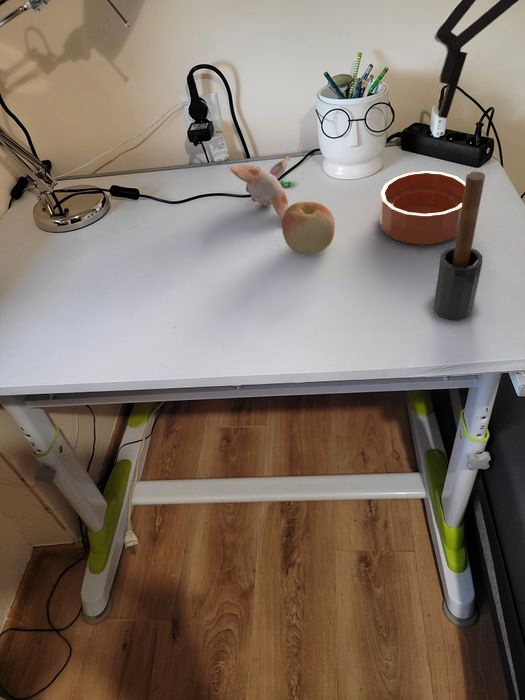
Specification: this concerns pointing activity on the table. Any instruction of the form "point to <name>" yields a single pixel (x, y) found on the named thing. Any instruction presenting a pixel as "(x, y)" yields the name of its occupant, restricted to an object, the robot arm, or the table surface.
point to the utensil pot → (456, 286)
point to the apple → (308, 227)
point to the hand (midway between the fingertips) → (501, 129)
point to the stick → (468, 218)
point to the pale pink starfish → (265, 185)
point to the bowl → (422, 207)
